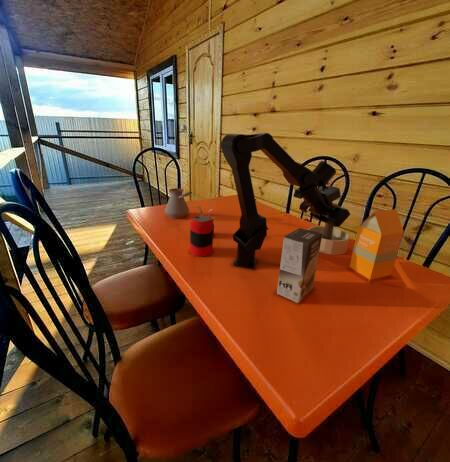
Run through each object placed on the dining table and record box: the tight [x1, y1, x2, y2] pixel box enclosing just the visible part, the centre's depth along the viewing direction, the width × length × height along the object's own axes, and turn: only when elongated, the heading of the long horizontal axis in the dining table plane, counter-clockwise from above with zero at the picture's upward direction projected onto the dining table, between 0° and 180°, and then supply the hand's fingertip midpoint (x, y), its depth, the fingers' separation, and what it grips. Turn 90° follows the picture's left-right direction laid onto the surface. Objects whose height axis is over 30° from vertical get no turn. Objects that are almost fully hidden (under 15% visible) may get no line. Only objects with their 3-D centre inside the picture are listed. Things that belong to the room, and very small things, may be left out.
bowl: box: [307, 225, 351, 256], centre depth 92 cm, size 14×14×6 cm
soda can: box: [189, 215, 214, 257], centre depth 85 cm, size 8×8×12 cm
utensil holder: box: [197, 205, 215, 236], centre depth 99 cm, size 6×6×12 cm
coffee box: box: [276, 227, 322, 304], centre depth 64 cm, size 9×6×16 cm
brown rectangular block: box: [323, 202, 339, 240], centre depth 92 cm, size 5×5×16 cm
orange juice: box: [349, 208, 405, 283], centre depth 74 cm, size 8×9×20 cm
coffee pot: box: [164, 187, 195, 219], centre depth 116 cm, size 21×12×15 cm, turn 34°
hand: (332, 224), depth 92 cm, fingers closed on brown rectangular block, 3 cm apart
